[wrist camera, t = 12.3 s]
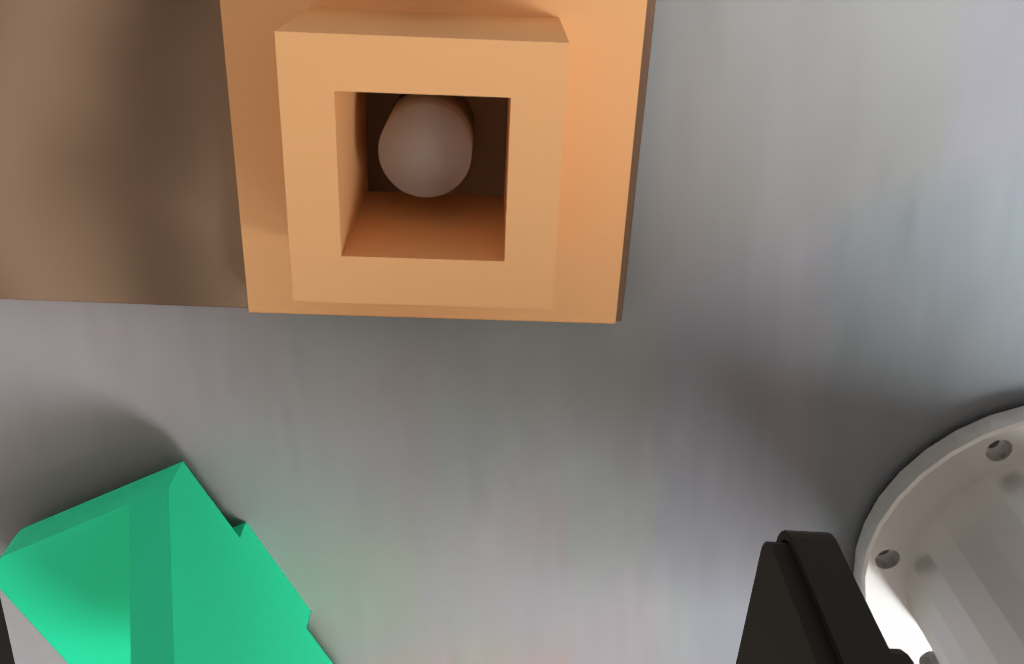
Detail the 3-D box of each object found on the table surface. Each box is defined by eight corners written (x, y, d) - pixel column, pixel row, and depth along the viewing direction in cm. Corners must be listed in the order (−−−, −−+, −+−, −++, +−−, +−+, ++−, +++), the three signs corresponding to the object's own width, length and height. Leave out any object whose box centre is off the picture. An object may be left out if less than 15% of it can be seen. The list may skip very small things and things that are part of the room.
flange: (258, 295, 29) (211, 377, 24) (224, -94, 24) (157, -86, 19) (611, 307, 29) (632, 389, 25) (647, -75, 24) (682, -63, 20)
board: (660, -97, 25) (686, -92, 21) (617, 308, 30) (633, 366, 27) (-372, -149, 24) (-523, -153, 21) (-231, 277, 30) (-332, 333, 26)
